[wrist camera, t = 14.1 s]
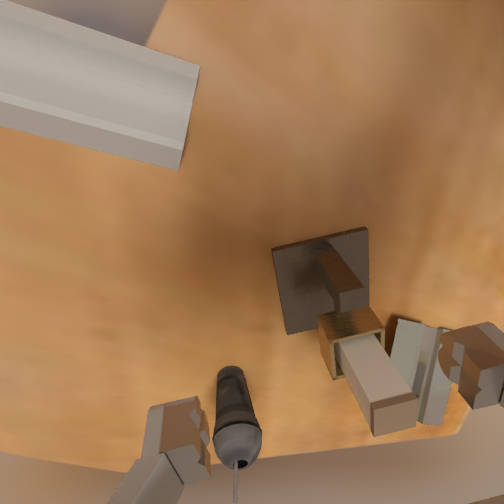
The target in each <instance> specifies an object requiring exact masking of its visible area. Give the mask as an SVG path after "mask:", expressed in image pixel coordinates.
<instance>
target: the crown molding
mask: <svg viewBox="0 0 504 504" xmlns="http://www.w3.org/2000/svg"><path fill="white" fill-rule="evenodd" d="M199 69H200V66H199V65H196V64H193V63H190V62H187V61H184V60H181V59H178V58H175V57H173V56H170V55H167V54H164V53H161V52H158V51H155V50H152V49H149V48H146V47H143V46H140V45H137V44H134V43H131V42H128V41H125V40H122V39H119V38H116V37H114V36H111V35H108V34H104V33H102V32H99V31H96V30H93V29H90V28H87V27H84V26H81V25H78V24H75V23H72V22H69V21H66V20H63V19H60V18H57V17H54V16H51V15H49V14H45V13H43V12H40V11H37V10H34V9H31V8H28V7H25V6H22V5H19V4H16V3H13V2H10V1H7V0H0V126H2V127H6V128H10V129H14V130H18V131H22V132H26V133H30V134H34V135H38V136H42V137H46V138H50V139H54V140H58V141H62V142H66V143H70V144H73V145H77V146H81V147H85V148H89V149H93V150H97V151H101V152H105V153H109V154H113V155H117V156H121V157H125V158H129V159H133V160H137V161H141V162H145V163H149V164H152V165H156V166H160V167H164V168H168V169H172V170H176V171H179V166H180V161H181V157H182V152H183V148H184V143H185V138H186V133H187V128H188V123H189V118H190V113H191V108H192V103H193V98H194V93H195V89H196V84H197V79H198V74H199Z"/></svg>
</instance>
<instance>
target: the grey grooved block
mask: <svg viewBox="0 0 504 504" xmlns="http://www.w3.org/2000/svg"><path fill="white" fill-rule="evenodd" d="M448 331H450V330H447V329H443V328H442V329H441V328H438V329H435V328H432V327H431V328H430V327H428V326H427V327H426V325H425V324H421V323H417V322H412V321H406V320H403V319H399V318H398V324H397V327H396V333H395V338H394V342H393V347H392V352H391V357H390V359H391V360H392V362H393V363H394V365H395V366H396V368H397V369H398V371H399V372H400V374H401V375H402V377H403V378H404V380H405V381H406V383H407V384H408V386H409V387H410V389H411V390H412V392H414V394H415V395H416V397H417V398H418V404H417V415H416V420H417V421H418V422H420V423H422V424H425V425H429V424H430V425H440V426H441V425H442V421H443V418H444V414H445V410H446V404H447V402H448V397H449V391H450V388H451V384H452V381H450V380H449V379H448V378H447V377H446V375H445V374H444V373H443V371H442V369H441V367H440V364H439V361H438V351H439V350H440V349H441V348H442V346H443V345H442V344H441V343H440V342H439V341H440V336H441V334H442V333H445V332H448ZM451 331H452V330H451Z"/></svg>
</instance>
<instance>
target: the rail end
mask: <svg viewBox="0 0 504 504" xmlns="http://www.w3.org/2000/svg"><path fill="white" fill-rule="evenodd" d="M334 354H335V357H336V359H337V361H338V363H339V365H340V367H341V369H342V371H343V373H344V375H345V377H346V379H347V381H348V383H349V385H350V387H351V390H352V392H353V394H354V396H355V398H356V400H357V402H358V404H359V406H360V408H361V410H362V412H363V414H364V416H365V418H366V420H367V422H368V425H369V427H370V429H371V432H372V434H373V436H374V437H377V436H381V435H385V434H388V433H392V432H396V431H400V430H404V429H408V428H412V427H415V426H416V415H417V404H418V398H417V397H416V395H415V394H414V392H412V390H411V389H410V387H409V386H408V384H407V383H406V381H405V380H404V378H403V377H402V375H401V374H400V372H399V371H398V369H397V368H396V366H395V365H394V363H393V362H392V360H391V359H390V357H389V356H388V355H387V353H386V352H385V350H384V349H383V347H382V346H381V344H380V343H379V341H378V340H377V338H376V337H375V335H374V334H369V335H365V336H361V337H357V338H353V339H349V340H345V341H341V342H337V343H334Z"/></svg>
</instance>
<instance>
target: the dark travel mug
mask: <svg viewBox="0 0 504 504" xmlns="http://www.w3.org/2000/svg"><path fill="white" fill-rule="evenodd" d="M261 438H262V430H261V429H260V426H259V423H258V421H257V419H256V417H255V414H254V410H253V406H252V402H251V399H250V395H249V391H248V388H247V384H246V380H245V378H244V375H243V371H242V370H241V369H240V368H239V367H236V366H228V367H225V368H223V369H222V370H220V372H219V373H218V379H217V395H216V423H215V427H214V435H213V438H212V440H213V444H214V447H215V452H216V455H217V457H218V458H219V460H220V461H221V462H222V463H223V464H224V465H225V466H227V467H229V468H230V469H234V487H233V488H234V490H233V503H234V504H237V484H238V483H237V482H238V480H237V478H238V470H241V469H245V468H247V467H249V466H250V465H251V464H252V463H253V462H254V461H255V460H256V459H257V457H258V455H259V452H260V450H261V445H262V439H261Z"/></svg>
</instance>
